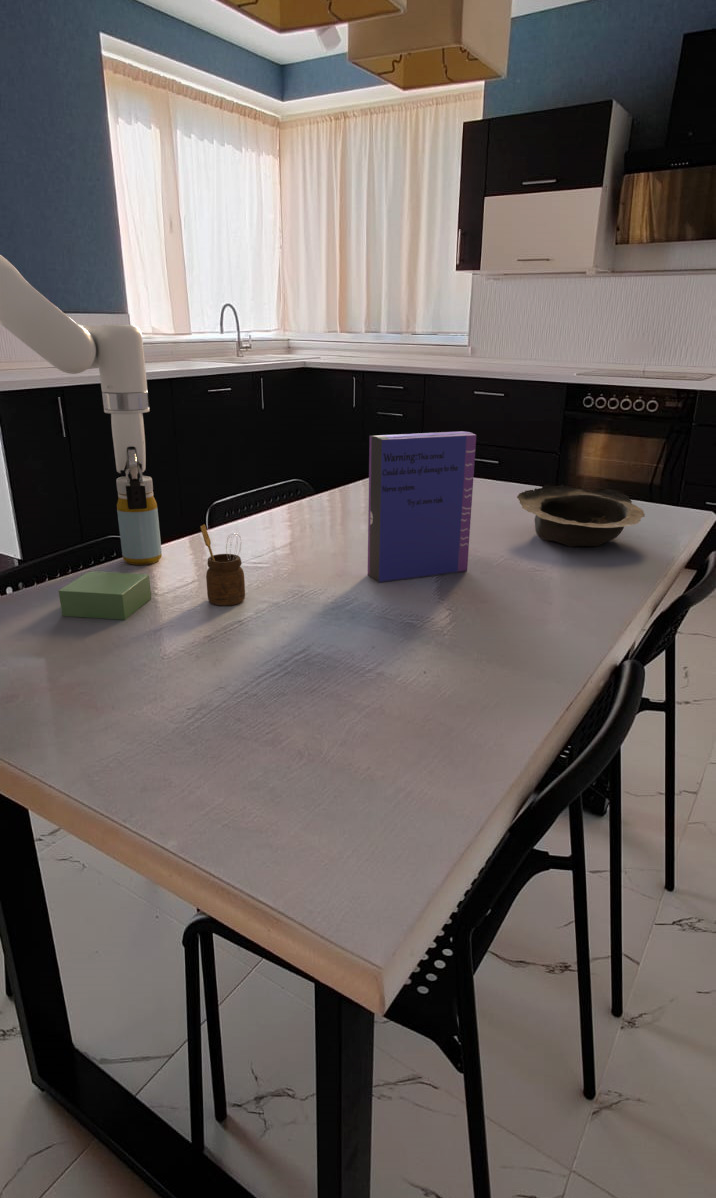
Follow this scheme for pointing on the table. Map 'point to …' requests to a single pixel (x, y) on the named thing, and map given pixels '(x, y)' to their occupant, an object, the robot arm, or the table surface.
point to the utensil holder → (224, 576)
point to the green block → (105, 595)
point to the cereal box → (419, 504)
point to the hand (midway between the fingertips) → (136, 502)
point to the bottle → (138, 526)
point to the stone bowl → (579, 514)
